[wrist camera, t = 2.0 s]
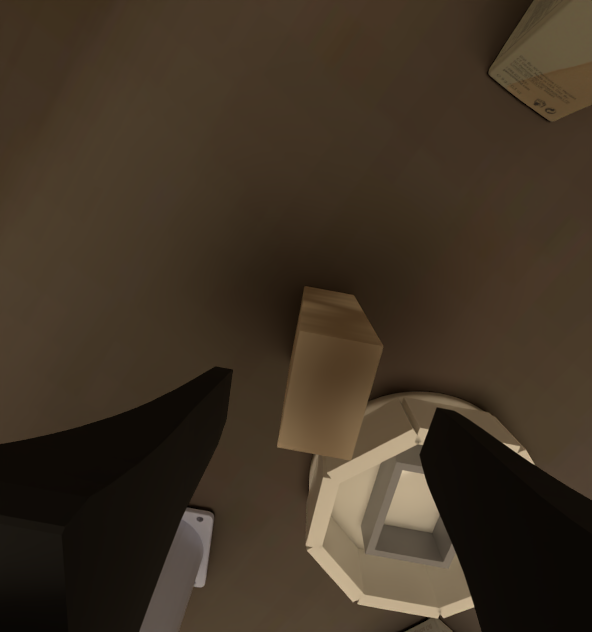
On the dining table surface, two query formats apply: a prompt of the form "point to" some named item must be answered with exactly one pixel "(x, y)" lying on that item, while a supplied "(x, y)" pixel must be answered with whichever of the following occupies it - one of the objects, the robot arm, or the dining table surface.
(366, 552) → the octagonal cream tray
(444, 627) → the supplement box
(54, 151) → the dining table surface
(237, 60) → the dining table surface
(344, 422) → the tan wooden block
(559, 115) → the box
